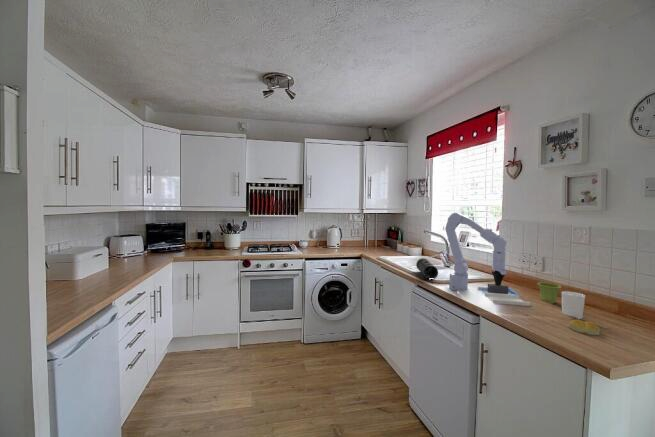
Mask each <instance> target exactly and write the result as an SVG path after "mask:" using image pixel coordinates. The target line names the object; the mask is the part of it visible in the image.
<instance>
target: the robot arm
mask: <svg viewBox="0 0 655 437" xmlns="http://www.w3.org/2000/svg"><path fill="white" fill-rule="evenodd" d="M460 224H461V225H467V226H469V227H470V228H471V229H473V230H475V231H476V232H477V233H479V236H480V238H482V239H484V240H485V241H486V242H488V243H489V244H491V245H492V246H493V252H492V265H491V269H492V270H493V271H492V270H491V274H492V277H493V279H494V284H495V285H502V282H503V280H504V277H505V276H506V275H507V271H508V268H507V267H506V247H507V246H506V245H507V241H506V240H505V238H504V237H502V236H501V235H500V234H497V233H496V232H494V231H493V229H492V228H488V227H487V228H484V227H482V226H481V225H479V223H477V222H476V221H474V220H473V219H471V218H470V217H468V216H467V215H465V214H463V213H461V212H453V213H451V214H450V215H449V217H447V222H446V226H445V228H444V230H445V232H446V236H447V239H448V243H449V246H450V250H451V253H452V257H453V264H454V266H453V267H454V268H453V269H454V273H450V274H449V286H448V287H449V288H450V290H451V291H458V290H463V291H464V290H468V284H469V283H468V282H469V273H468V272H467V271H468V270H469V267H470V266H469V265H468V262H466V260H465V257H464V255H463V253H462V252H463V251H462V249H461V246H460V243H459V238H458V236H457V232H456V229H457V228H458V227H459V225H460Z"/></svg>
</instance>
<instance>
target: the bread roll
mask: <svg viewBox="0 0 655 437" xmlns="http://www.w3.org/2000/svg"><path fill="white" fill-rule="evenodd" d="M568 327H569V329H571V330H573V331H574V332H577V333H579V334H586V335H588V336H599V335H600V334H601V333H600V326H598V324H596V323H595V322H593V321H589V320H588V321H583V320H582V319H573V320H571V321H570V322H569V324H568Z"/></svg>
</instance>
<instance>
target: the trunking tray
mask: <svg viewBox="0 0 655 437" xmlns="http://www.w3.org/2000/svg"><path fill="white" fill-rule="evenodd" d="M477 290H478V291H479V292H480V293H482V294H483V295H484V296H485V297H486V298H487V299H488V300H490V301H491V302H492V303H493V304H499V305H501V304H502V305H512V306H523V307H524V306H525V307H526V306H527V307H532V305H531V304H532V303H531V302H530V301H524V300H522V299H521V298H520V294H519V293H518V292H516V291H515V290H513V289H512V288H509V287H508V294H499V293H488V292H487V291H488V286H477Z"/></svg>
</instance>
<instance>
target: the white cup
mask: <svg viewBox="0 0 655 437" xmlns="http://www.w3.org/2000/svg"><path fill="white" fill-rule="evenodd" d="M585 299H586V295H585V294H583V293H580V292H574V291H561V313H562V314H563V315H565V316H568V317H569V316H570V317H573V318H576V320H582V319H583V316H584V315H583V314H584V313H583V312H584V309H585V308H584V307H585Z"/></svg>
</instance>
